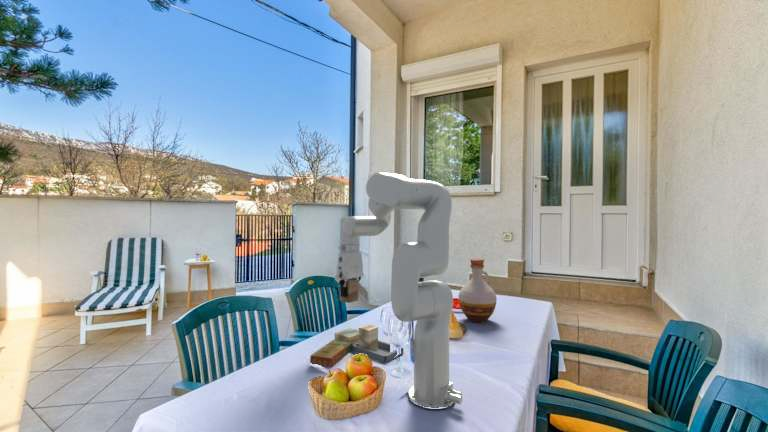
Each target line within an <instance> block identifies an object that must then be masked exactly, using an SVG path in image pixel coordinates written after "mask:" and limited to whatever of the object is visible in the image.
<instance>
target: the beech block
mask: <svg viewBox="0 0 768 432" xmlns="http://www.w3.org/2000/svg"><path fill="white" fill-rule="evenodd" d="M358 330H359V347H362V348H365V349H368V350H371V351H374V350H377V349H378V340H379V327H378V326H376V325H372V324H365V325H361V326H359V327H358Z"/></svg>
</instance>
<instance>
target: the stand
mask: <svg viewBox="0 0 768 432" xmlns="http://www.w3.org/2000/svg"><path fill="white" fill-rule="evenodd" d="M334 340H339V341H347V342H352V345H353V344H355V343H358V342H359V329H355V328H351V327H347V328H345V329H342V330H339V331H336V332H334Z"/></svg>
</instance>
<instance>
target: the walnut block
mask: <svg viewBox="0 0 768 432" xmlns="http://www.w3.org/2000/svg"><path fill="white" fill-rule="evenodd" d="M343 282H344V280H343ZM358 282H359V283H360V281H359V280H357V279H348V281H347V286H346V287H348V296H347V297H342V296H341V286H339V301H340V302H344V303H354V302H357V301H358V300H359V284H358Z"/></svg>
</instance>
